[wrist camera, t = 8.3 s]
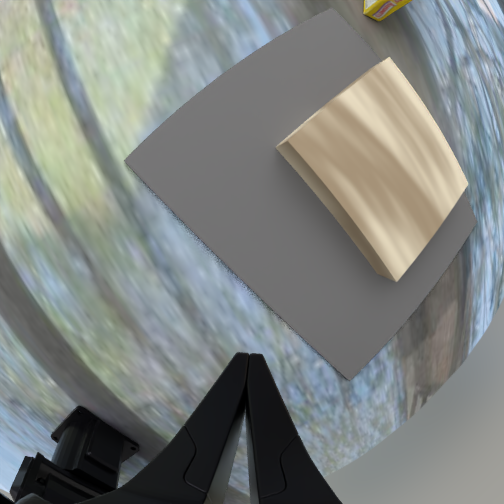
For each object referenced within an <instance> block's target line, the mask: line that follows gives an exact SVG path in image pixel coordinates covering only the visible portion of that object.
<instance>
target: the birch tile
mask: <svg viewBox="0 0 504 504" xmlns="http://www.w3.org/2000/svg"><path fill="white" fill-rule="evenodd" d="M275 148H276V149H277V150H278V151H279V152H280V154H281V155H282V156H283V157H284V158H285V159H286V160H287V161H288V163H289V164H290V165H291V166H292V167H293V168H294V169H295V170H296V172H297V173H298V174H299V175H300V176H301V177H302V179H303V180H304V181H305V182H306V183H307V184H308V186H309V187H310V188H311V189H312V190H313V192H314V193H315V194H316V195H317V196H318V198H319V199H320V200H321V201H322V202H323V204H324V205H325V206H326V207H327V209H328V210H329V211H330V212H331V214H332V215H333V216H334V217H335V219H336V220H337V221H338V222H339V224H340V225H341V226H342V227H343V229H344V230H345V231H346V233H347V234H348V235H349V236H350V238H351V239H352V240H353V242H354V243H355V244H356V246H357V247H358V248H359V250H360V251H361V252H362V254H363V255H364V256H365V258H366V259H367V260H368V262H369V263H370V265H371V266H372V267H373V269H374V270H375V271H376V273H377V274H379V275H381V276H383V277H386V278H388V279H390V280H393V281H395V282H397V281H398V280H399V279H400V278H401V276H402V275H403V274H404V273H405V272H406V270H407V269H408V268H409V267H410V265H411V264H412V263H413V262H414V260H415V259H416V258H417V256H418V255H419V254H420V253H421V251H422V250H423V249H424V247H425V246H426V245H427V243H428V242H429V241H430V239H431V238H432V237H433V235H434V234H435V233H436V231H437V230H438V228H439V227H440V226H441V224H442V223H443V221H444V220H445V219H446V217H447V216H448V214H449V213H450V211H451V210H452V208H453V207H454V205H455V204H456V202H457V201H458V199H459V198H460V196H461V195H462V193H463V192H464V190H465V188H466V187H467V185H468V182H467V180H466V178H465V176H464V174H463V172H462V170H461V168H460V166H459V164H458V162H457V160H456V158H455V156H454V154H453V152H452V150H451V148H450V146H449V145H448V143H447V141H446V139H445V138H444V136H443V134H442V132H441V131H440V129H439V127H438V126H437V124H436V122H435V121H434V119H433V117H432V116H431V114H430V113H429V111H428V110H427V108H426V106H425V105H424V103H423V102H422V100H421V99H420V97H419V96H418V95H417V93H416V92H415V90H414V89H413V87H412V86H411V85H410V83H409V82H408V81H407V79H406V78H405V76H404V75H403V74H402V73H401V71H400V70H399V69H398V67H397V66H396V65H395V64H394V62H393V61H392V60H391V59H390V57H389V58H387V59H385V60H384V61H382V62H380V63H379V64H377V65H375V66H374V67H372V68H371V69H369V70H368V71H367V72H365V73H364V74H363V75H361V76H360V77H359V78H358V79H356V80H355V81H354V82H353V83H351V84H350V85H349V86H348V87H346V88H345V89H344V90H343V91H341V92H340V93H339V94H338V95H336V96H335V97H334V98H333V99H331V100H330V101H329V102H328V103H327V104H325V105H324V106H323V107H322V108H321V109H319V110H318V111H317V112H316V113H315V114H313V115H312V116H311V117H310V118H309V119H308V120H306V121H305V122H304V123H303V124H302V125H301V126H299V127H298V128H297V129H296V130H295V131H294V132H292V133H291V134H290V135H289V136H288V137H287V138H286V139H284V140H283V141H282V142H281V143H280V144H279V145H278V146H277V147H275Z"/></svg>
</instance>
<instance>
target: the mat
mask: <svg viewBox="0 0 504 504" xmlns="http://www.w3.org/2000/svg"><path fill="white" fill-rule="evenodd" d="M380 62H382V60H381V59H380V58H379V57H378V55H377V54H376V53H375V52H374V51H373V50H372V48H371V47H370V46H369V45H368V44H367V43H366V42H365V41H364V39H363V38H362V37H361V36H360V35H359V34H358V33H357V32H356V31H355V30H354V29H353V28H352V27H351V26H350V25H349V24H348V23H347V22H346V21H345V20H344V19H343V18H342V17H341V16H340V15H339V14H338V13H337V12H336V11H335V10H334V9H333V8H330V9H328V10H326V11H324V12H322V13H320V14H318V15H316V16H314V17H312V18H310V19H308V20H306V21H305V22H303V23H301V24H299V25H297V26H296V27H294V28H292V29H290V30H289V31H287V32H285V33H284V34H282V35H280V36H279V37H277V38H275V39H274V40H272V41H270V42H269V43H267V44H266V45H264V46H263V47H261V48H259V49H258V50H256V51H255V52H253V53H252V54H250V55H249V56H247V57H246V58H245V59H243V60H242V61H240V62H239V63H237V64H236V65H235V66H233V67H232V68H230V69H229V70H228V71H226V72H225V73H223V74H222V75H221V76H219V77H218V78H217V79H215V80H214V81H213V82H211V83H210V84H209V85H208V86H206V87H205V88H204V89H203V90H201V91H200V92H199V93H197V94H196V95H195V96H194V97H193V98H191V99H190V100H189V101H188V102H186V103H185V104H184V105H183V106H182V107H181V108H179V109H178V110H177V111H176V112H175V113H174V114H172V115H171V116H170V117H169V118H168V119H167V120H166V121H165V122H163V123H162V124H161V125H160V126H159V127H158V128H157V129H156V130H155V131H154V132H153V133H151V134H150V135H149V136H148V137H147V138H146V139H145V140H144V141H143V142H142V143H141V144H140V145H139V146H138V147H137V148H136V149H135V150H134V151H133V152H132V153H131V154H130V155H129V156H128V157H127V158H126V159H125V160H124V161H125V163H126V164H127V165H128V166H129V167H130V168H131V169H132V170H133V171H134V172H135V173H136V174H137V175H138V176H139V177H140V178H141V179H142V180H143V181H144V182H145V183H146V184H147V185H148V186H149V188H150V189H151V190H152V191H153V192H154V193H155V194H156V195H157V196H158V197H159V198H160V199H161V200H162V201H163V202H164V203H165V204H166V205H167V206H168V207H169V208H170V209H171V210H172V211H173V212H174V213H175V214H176V215H177V216H178V217H179V218H180V219H181V220H182V221H183V222H184V223H185V224H186V225H187V226H188V227H189V228H190V229H191V230H192V231H193V232H194V233H195V234H196V235H197V236H198V237H199V238H200V239H201V240H202V241H203V242H204V243H205V244H206V245H207V246H208V247H209V248H210V249H211V250H212V251H213V252H214V253H215V254H216V255H217V256H218V257H219V258H220V259H221V260H222V261H223V262H224V263H225V264H226V265H227V266H228V267H229V268H230V269H231V270H232V271H233V272H234V273H235V274H236V275H237V276H238V277H239V278H240V279H241V280H242V281H243V282H244V283H245V284H246V285H248V286H249V287H250V288H251V289H252V290H253V291H254V292H255V293H256V294H257V295H258V296H259V297H260V298H261V299H262V300H263V301H264V302H265V303H266V304H267V305H268V306H269V307H270V308H271V309H272V310H274V311H275V312H276V313H277V314H278V315H279V316H280V317H281V318H282V319H283V320H284V321H285V322H286V323H287V324H288V325H289V326H290V327H291V328H293V329H294V330H295V331H296V332H297V333H298V334H299V335H300V336H301V337H302V338H303V339H304V340H305V341H306V342H307V343H309V344H310V345H311V346H312V347H313V348H314V349H315V350H316V351H317V352H318V353H319V354H320V355H322V356H323V357H324V358H325V359H326V360H327V361H328V362H329V363H330V364H331V365H332V366H333V367H335V368H336V369H337V370H338V371H339V372H340V373H341V374H342V375H343V376H344V377H346V378H347V379H348V380H349V381H350V380H351V379H352V378H353V377H354V376H355V375H356V374H357V373H358V372H359V371H360V370H361V369H362V368H363V367H364V366H365V365H366V364H367V363H368V362H369V361H370V360H371V359H372V358H373V357H374V356H375V355H376V354H377V353H378V352H379V351H380V350H381V349H382V348H383V347H384V345H385V344H386V343H387V342H388V341H389V340H390V339H391V338H392V337H393V336H394V334H395V333H396V332H397V331H398V330H399V329H400V328H401V326H402V325H403V324H404V323H405V322H406V321H407V319H408V318H409V317H410V316H411V315H412V313H413V312H414V311H415V310H416V308H417V307H418V306H419V305H420V304H421V302H422V301H423V300H424V298H425V297H426V296H427V295H428V293H429V292H430V291H431V289H432V288H433V287H434V285H435V284H436V283H437V281H438V280H439V279H440V277H441V276H442V275H443V273H444V272H445V270H446V269H447V268H448V266H449V265H450V263H451V262H452V260H453V259H454V257H455V256H456V254H457V253H458V251H459V250H460V248H461V247H462V245H463V244H464V242H465V241H466V239H467V238H468V236H469V234H470V233H471V231H472V229H473V228H474V226H475V225H476V223H477V220H476V218H475V215H474V213H473V210H472V208H471V206H470V203H469V201H468V199H467V197H466V194H465V192H463V193H462V195H461V196H460V198H459V199H458V201H457V202H456V204H455V205H454V207H453V208H452V210H451V211H450V213H449V214H448V216H447V217H446V219H445V220H444V221H443V223H442V224H441V226H440V227H439V228H438V230H437V231H436V233H435V234H434V235H433V237H432V238H431V239H430V241H429V242H428V243H427V245H426V246H425V247H424V249H423V250H422V251H421V253H420V254H419V255H418V256H417V258H416V259H415V260H414V262H413V263H412V264H411V265H410V267H409V268H408V269H407V270H406V272H405V273H404V274H403V275H402V276H401V278H400V279H399V280H398V281H397V282H395V281H393V280H390V279H388V278H386V277H383V276H381V275H379V274H377V273H376V271H375V270H374V269H373V267H372V266H371V265H370V263H369V262H368V260H367V259H366V258H365V256H364V255H363V254H362V252H361V251H360V250H359V248H358V247H357V246H356V244H355V243H354V242H353V240H352V239H351V238H350V236H349V235H348V234H347V233H346V231H345V230H344V229H343V227H342V226H341V225H340V224H339V222H338V221H337V220H336V219H335V217H334V216H333V215H332V214H331V212H330V211H329V210H328V209H327V207H326V206H325V205H324V204H323V202H322V201H321V200H320V199H319V198H318V196H317V195H316V194H315V193H314V192H313V190H312V189H311V188H310V187H309V186H308V184H307V183H306V182H305V181H304V180H303V179H302V177H301V176H300V175H299V174H298V173H297V172H296V170H295V169H294V168H293V167H292V166H291V165H290V164H289V163H288V161H287V160H286V159H285V158H284V157H283V156H282V155H281V154H280V152H279V151H278V150H277V149H276V148H275V147H277V146H278V145H279V144H280V143H281V142H282V141H283V140H284V139H286V138H287V137H288V136H289V135H290V134H291V133H292V132H294V131H295V130H296V129H297V128H298V127H299V126H301V125H302V124H303V123H304V122H305V121H306V120H308V119H309V118H310V117H311V116H312V115H313V114H315V113H316V112H317V111H318V110H319V109H321V108H322V107H323V106H324V105H325V104H327V103H328V102H329V101H330V100H331V99H333V98H334V97H335V96H336V95H338V94H339V93H340V92H341V91H343V90H344V89H345V88H346V87H348V86H349V85H350V84H351V83H353V82H354V81H355V80H356V79H358V78H359V77H360V76H361V75H363V74H364V73H365V72H367V71H368V70H369V69H371V68H372V67H374V66H375V65H377V64H379V63H380Z"/></svg>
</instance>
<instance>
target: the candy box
mask: <svg viewBox="0 0 504 504" xmlns="http://www.w3.org/2000/svg"><path fill="white" fill-rule="evenodd" d="M411 1H412V0H364V12H363V13H364V14H365V15H367V16H369V17H371V18H373V19H375V20H377V21H381V20H383V19H384V18H386V17H387V16H389V15H390V14H392V13H393V12H395V11H396V10H398V9H399V8H401V7H403V6H404V5H406V4H407V3H409V2H411Z"/></svg>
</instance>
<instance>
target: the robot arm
mask: <svg viewBox="0 0 504 504" xmlns="http://www.w3.org/2000/svg"><path fill="white" fill-rule="evenodd" d="M245 408H246V413H245ZM79 411H80V412H79ZM81 412H82V413H81ZM245 415H246V436H247V454H248V470H249V486H250V501H251V504H342V502H341V501H340V500H339V499H338V497H337V496H336V495H335V493H334V492H333V490H332V489H331V488H330V486H329V485H328V484H327V482H326V481H325V479H324V478H323V476H322V475H321V473H320V472H319V471H318V469H317V467H316V466H315V464H314V463H313V461H312V459H311V458H310V456H309V454H308V452H307V450H306V448H305V446H304V444H303V442H302V440H301V438H300V436H299V435H298V432H297V430H296V428H295V425H294V423H293V421H292V419H291V417H290V415H289V412H288V410H287V408H286V406H285V404H284V401H283V399H282V397H281V395H280V392H279V390H278V388H277V386H276V384H275V381H274V379H273V377H272V375H271V372H270V370H269V368H268V365H267V363H266V361H265V359H264V356H263V355H262V354H256V353H251V354H250V356H249V354H248V353H242V352H237V353H236V354H235V355H234V357H233V358H232V360H231V361H230V362H229V364H228V365H227V367H226V368H225V369H224V371H223V372H222V374H221V375H220V376H219V378H218V379H217V381H216V382H215V383H214V385H213V386H212V388H211V389H210V390H209V392H208V393H207V394H206V396H205V397H204V399H203V400H202V401H201V403H200V404H199V405H198V407H197V408H196V409H195V411H194V412H193V413H192V415H191V416H190V417H189V419H188V420H187V421H186V423H185V424H184V425H185V426H183V427H182V428H181V429H180V430H179V432H178V433H177V434H176V436H175V437H174V438H173V439H172V440H171V442H170V443H169V444H168V445H167V446H166V447H165V448H164V449H163V450H162V451H161V452H160V453H159V454H158V455H157V456H156V457H155V458H154V459H153V460H152V461H151V462H150V463H149V464H148V465H147V466H146V467H145V468H144V469H142V470H141V471H140V472H139V473H138V474H137V475H136V476H135V477H134V478H133V479H131V480H130V481H129V482H128V483H126V484H125V485H123V486H122V487H120V488H118V489H117V487H118V480H119V473H120V467H121V463H122V462H124V461H125V460H127V459H128V458H129V457H131V456H132V455H134V454H135V453H136V452H138V451H139V445H138V444H137V443H135V442H134V441H132V440H130V439H129V438H127V437H126V436H124V435H122V434H121V433H119V432H118V431H116V430H115V429H113V428H112V427H110V426H109V425H107V424H106V423H104V422H103V421H101V420H100V419H99V418H97V417H96V416H94V415H93V414H92V413H90V412H89V411H87V410H86V409H85V408H83V407H81V406H77V407H76V408H75V409H74V410H73V411H72V412H71V413H70V414H69V415H68V416H67V417H66V418H65V419H64V421H63V422H62V423H61V424H60V425H59V426H58V427H57V428H56V429H55V430H54V431H53V432H52V434H51V438H52V439H53V440H54V441H55V442H57V443H58V445H57V447H56V450H55V452H54V455H53V457H52V460H51V461H49V460H48V459H46V458H45V457H44V456H43V455H42V454H40V453H39V452H37V455H36V457H35V458H33V457H27V456H25V458H24V460H23V462H22V464H21V467H20V469H19V471H18V473H17V475H16V477H15V480H14V482H13V484H12V486H11V489H10V494H11V496H12V498H13V500H14V502H13V501H12V500H10V499H9V498H7V497H6V496H5V495H3V494H2V493H0V504H223V502H224V498H225V494H226V490H227V486H228V482H229V478H230V474H231V470H232V466H233V462H234V458H235V454H236V450H237V446H238V442H239V438H240V433H241V429H242V425H243V421H244V416H245Z"/></svg>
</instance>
